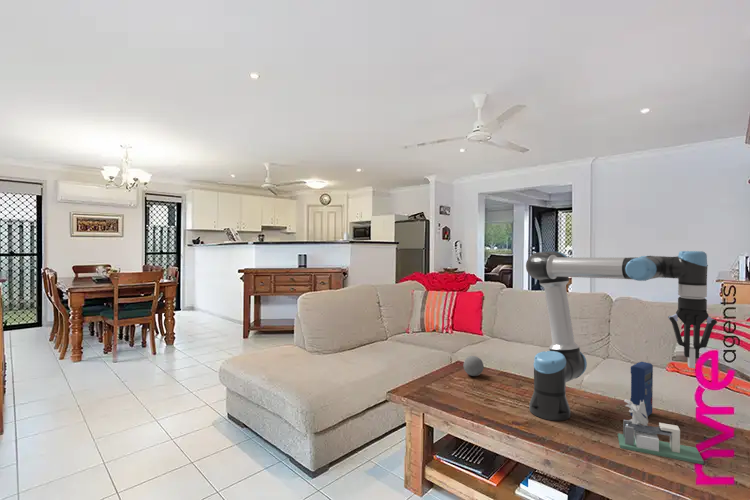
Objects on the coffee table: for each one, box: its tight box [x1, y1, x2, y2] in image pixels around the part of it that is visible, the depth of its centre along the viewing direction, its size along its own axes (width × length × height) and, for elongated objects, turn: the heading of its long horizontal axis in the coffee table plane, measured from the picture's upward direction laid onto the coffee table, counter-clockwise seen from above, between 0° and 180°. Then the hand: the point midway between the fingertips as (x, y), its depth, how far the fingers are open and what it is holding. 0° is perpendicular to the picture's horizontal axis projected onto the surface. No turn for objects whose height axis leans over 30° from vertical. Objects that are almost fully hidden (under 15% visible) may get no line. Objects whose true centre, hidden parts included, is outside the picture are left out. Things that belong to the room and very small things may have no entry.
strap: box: [625, 422, 671, 437], centre depth 132 cm, size 12×4×2 cm, turn 63°
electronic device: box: [629, 361, 654, 419], centre depth 156 cm, size 10×5×20 cm, turn 127°
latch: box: [658, 422, 681, 453], centre depth 129 cm, size 5×4×7 cm
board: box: [617, 419, 705, 465], centre depth 131 cm, size 22×9×7 cm, turn 63°
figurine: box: [623, 398, 649, 426], centre depth 144 cm, size 11×8×12 cm
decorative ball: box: [463, 355, 485, 377], centre depth 203 cm, size 10×10×10 cm
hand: (691, 367), depth 133 cm, fingers closed
